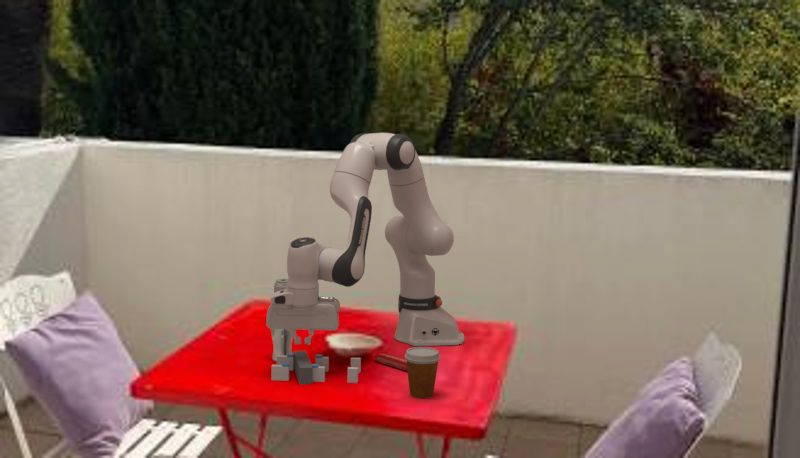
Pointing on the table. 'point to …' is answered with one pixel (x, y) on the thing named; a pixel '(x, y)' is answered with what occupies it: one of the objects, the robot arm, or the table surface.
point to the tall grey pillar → (303, 367)
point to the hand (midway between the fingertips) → (302, 344)
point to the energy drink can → (280, 285)
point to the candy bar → (391, 361)
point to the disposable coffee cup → (422, 370)
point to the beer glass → (281, 342)
